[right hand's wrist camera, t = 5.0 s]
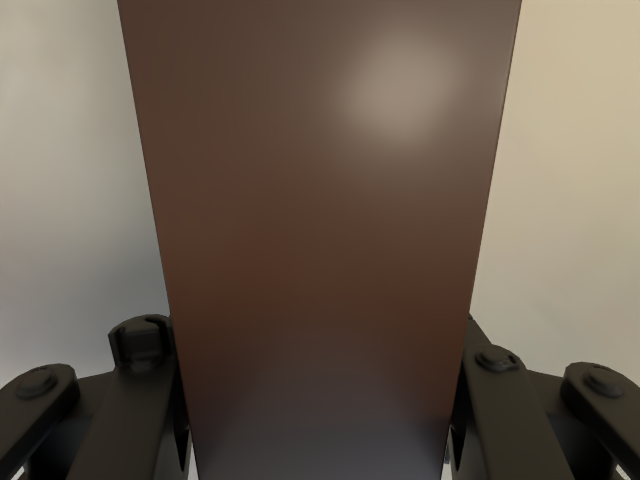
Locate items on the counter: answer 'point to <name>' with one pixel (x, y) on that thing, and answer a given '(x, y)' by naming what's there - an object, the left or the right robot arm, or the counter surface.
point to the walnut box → (319, 219)
